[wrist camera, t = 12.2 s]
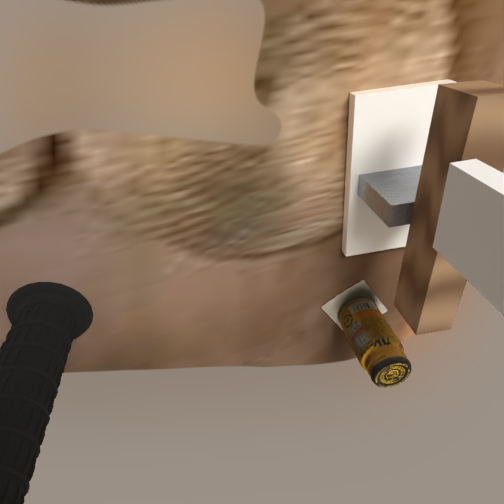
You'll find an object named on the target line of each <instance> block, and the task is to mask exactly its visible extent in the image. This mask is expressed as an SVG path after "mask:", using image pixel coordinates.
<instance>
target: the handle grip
mask: <svg viewBox="0 0 504 504" xmlns="http://www.w3.org/2000/svg"><path fill="white" fill-rule="evenodd" d="M6 310H7V315H8V318H9V320H10V322H11V323H12V327H11V330H10V331H9V332H8V334H7V336H6V341H5V342H4V343H3V344H2V346H1V348H0V504H23V503H24V496H25V495H26V494H27V493H28V490H29V481H30V480H31V478H32V475H33V473H34V469H35V463H36V458H37V457H38V455H39V453H40V445H41V444H42V442H43V439H44V436H45V430H46V426H47V424H48V423H49V420H50V417H49V415H50V414H51V412H52V408H53V403H54V399H55V398H56V395H57V393H58V390H57V389H58V387H59V385H60V381H61V376H62V373H63V372H64V367H65V364H66V361H67V356H68V353H69V351H70V349H71V343H72V341H73V339H75V338H77V337H78V336H80V335H81V334H83V333H84V332H85V331H86V330H87V329H88V328H89V326H90V324H91V322H92V318H93V312H92V308H91V306H90V304H89V302H88V301H87V299H86V298H85V297H84V296H83V295H82V294H80V293H79V292H77V291H76V290H74V289H72V288H70V287H68V286H65V285H62V284H58V283H52V282H37V283H32V284H28V285H25V286H23V287H21V288H19V289H18V290H17V291H15V292H14V293H13V294H12V295H11V297H10V298H9V300H8V302H7V308H6Z"/></svg>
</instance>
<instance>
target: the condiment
mask: <svg viewBox="0 0 504 504" xmlns="http://www.w3.org/2000/svg"><path fill="white" fill-rule="evenodd" d="M321 308H322V309H323V310H324V311H325V312H326V313H327V314H328V315H329V316H330V318H331V319H332V320H333V321H334V322H335V323H336V324H337V325H338V326H339V327H340V328H341V329H342V330H343V331H344V333H345V335H346V337H347V339H348V341H349V342H350V344H351V346H352V349H353V350H354V352H355V355H356V356H357V358H358V360H359V362H360V364H361V366H362V367H363V368H364V369H365V370H366V371H367V372H368V374H369V375H370V376H371V379H372V381H373V382H374V383H375V384H376V385H377V386H380V387H391V386H395V385H397V384H400V383H401V382H403V381H404V380H405V379H406V378H407V377H408V376H409V374H410V372H411V364H410V362H409V360H408V359H407V357H406V355H405V354H404V348H403V346H402V344H401V342H400V341H399V339H398V338H397V336H396V335H395V333H394V332H393V330H392V328H391V327H390V325H389V324H388V322H387V321H386V319H385V318H384V316H383V315H382V314H384V313H385V312H387V311H388V310H387V309H386V308H385V307H384V305H383V304H382V303H381V301H380V300H379V299H378V298H377V296H376V295H375V294H374V293H373V291H372V290H371V289H370V287H369V286H368V285H367V284H366V283H365V281H364V280H362V281H360V282H359V283H356V284H355V285H353V286H351V287H350V288H348V289H347V290H345V291H344V292H342V293H341V294H339V295H337V296H336V297H335V298H333V299H332V300H330V301H329V302H327V303H326V304H325V305H323V306H322V307H321Z"/></svg>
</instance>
